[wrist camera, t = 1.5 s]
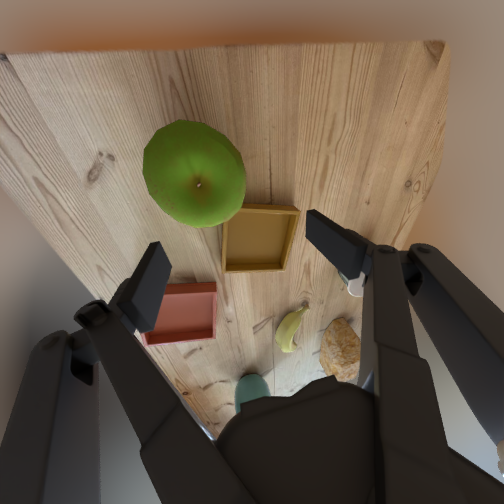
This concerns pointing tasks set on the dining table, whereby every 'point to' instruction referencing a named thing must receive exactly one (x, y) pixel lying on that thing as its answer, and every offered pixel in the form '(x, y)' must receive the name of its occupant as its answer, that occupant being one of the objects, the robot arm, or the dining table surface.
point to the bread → (340, 351)
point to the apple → (194, 174)
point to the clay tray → (185, 315)
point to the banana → (289, 330)
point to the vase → (250, 389)
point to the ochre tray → (258, 238)
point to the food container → (354, 284)
